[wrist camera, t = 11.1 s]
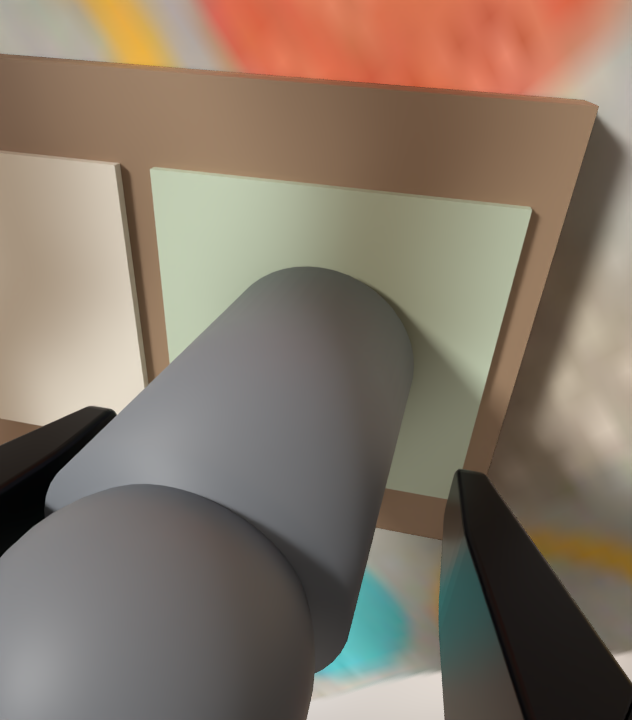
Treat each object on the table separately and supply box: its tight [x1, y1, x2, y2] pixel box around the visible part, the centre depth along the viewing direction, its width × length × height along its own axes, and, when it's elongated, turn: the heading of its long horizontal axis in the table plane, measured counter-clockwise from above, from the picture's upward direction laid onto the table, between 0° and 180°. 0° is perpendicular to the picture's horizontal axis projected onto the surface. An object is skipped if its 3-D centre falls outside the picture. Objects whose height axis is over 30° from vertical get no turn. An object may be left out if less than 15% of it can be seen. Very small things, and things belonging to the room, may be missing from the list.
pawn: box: [0, 266, 414, 720], centre depth 8 cm, size 4×4×8 cm
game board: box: [0, 54, 599, 540], centre depth 13 cm, size 23×10×1 cm, turn 86°
